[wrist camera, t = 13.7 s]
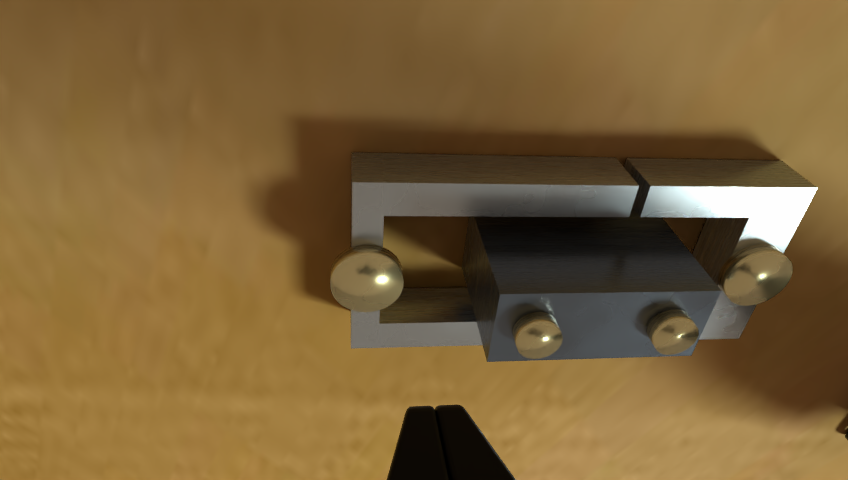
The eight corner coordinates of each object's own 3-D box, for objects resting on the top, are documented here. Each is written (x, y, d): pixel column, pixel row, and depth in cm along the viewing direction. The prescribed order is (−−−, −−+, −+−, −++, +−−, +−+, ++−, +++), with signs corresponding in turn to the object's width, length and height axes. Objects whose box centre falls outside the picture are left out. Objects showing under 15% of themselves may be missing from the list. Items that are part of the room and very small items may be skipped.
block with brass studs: (461, 266, 23) (490, 376, 18) (470, 204, 21) (504, 307, 17) (631, 265, 24) (700, 369, 19) (652, 205, 22) (732, 303, 18)
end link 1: (615, 157, 21) (647, 195, 18) (572, 308, 25) (593, 353, 22) (330, 152, 19) (328, 192, 17) (332, 312, 23) (331, 360, 21)
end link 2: (786, 160, 21) (834, 197, 19) (717, 305, 25) (751, 349, 23) (626, 157, 21) (658, 195, 19) (581, 308, 25) (603, 353, 22)
